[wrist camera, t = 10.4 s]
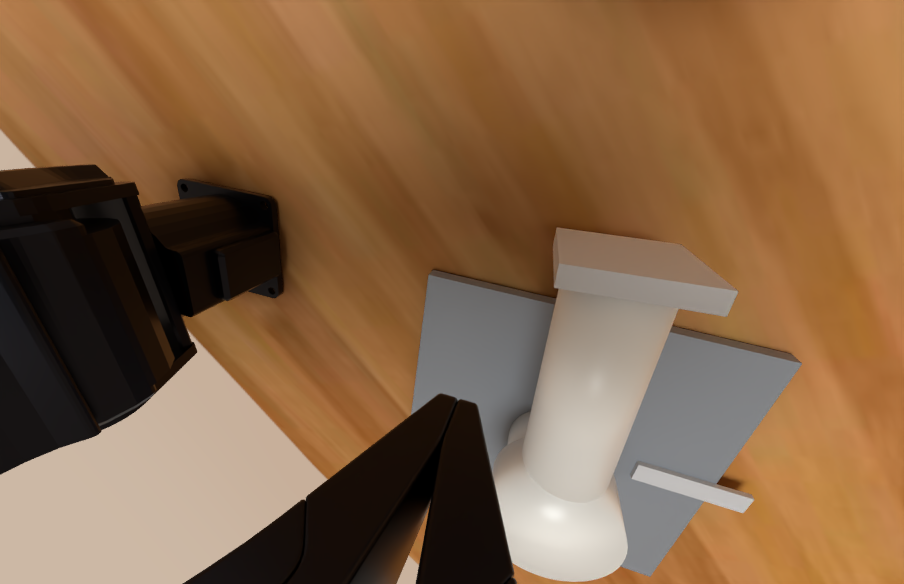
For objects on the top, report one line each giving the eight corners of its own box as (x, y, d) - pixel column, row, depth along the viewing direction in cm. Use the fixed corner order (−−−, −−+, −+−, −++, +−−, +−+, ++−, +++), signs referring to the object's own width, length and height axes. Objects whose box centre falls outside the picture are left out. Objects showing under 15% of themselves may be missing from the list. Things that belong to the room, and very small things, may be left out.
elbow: (596, 516, 21) (608, 615, 16) (489, 486, 22) (474, 570, 18) (702, 247, 14) (771, 296, 9) (537, 224, 15) (532, 259, 11)
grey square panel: (405, 480, 27) (389, 520, 25) (437, 238, 19) (417, 256, 16) (674, 573, 24) (691, 631, 21) (859, 330, 16) (928, 373, 13)
